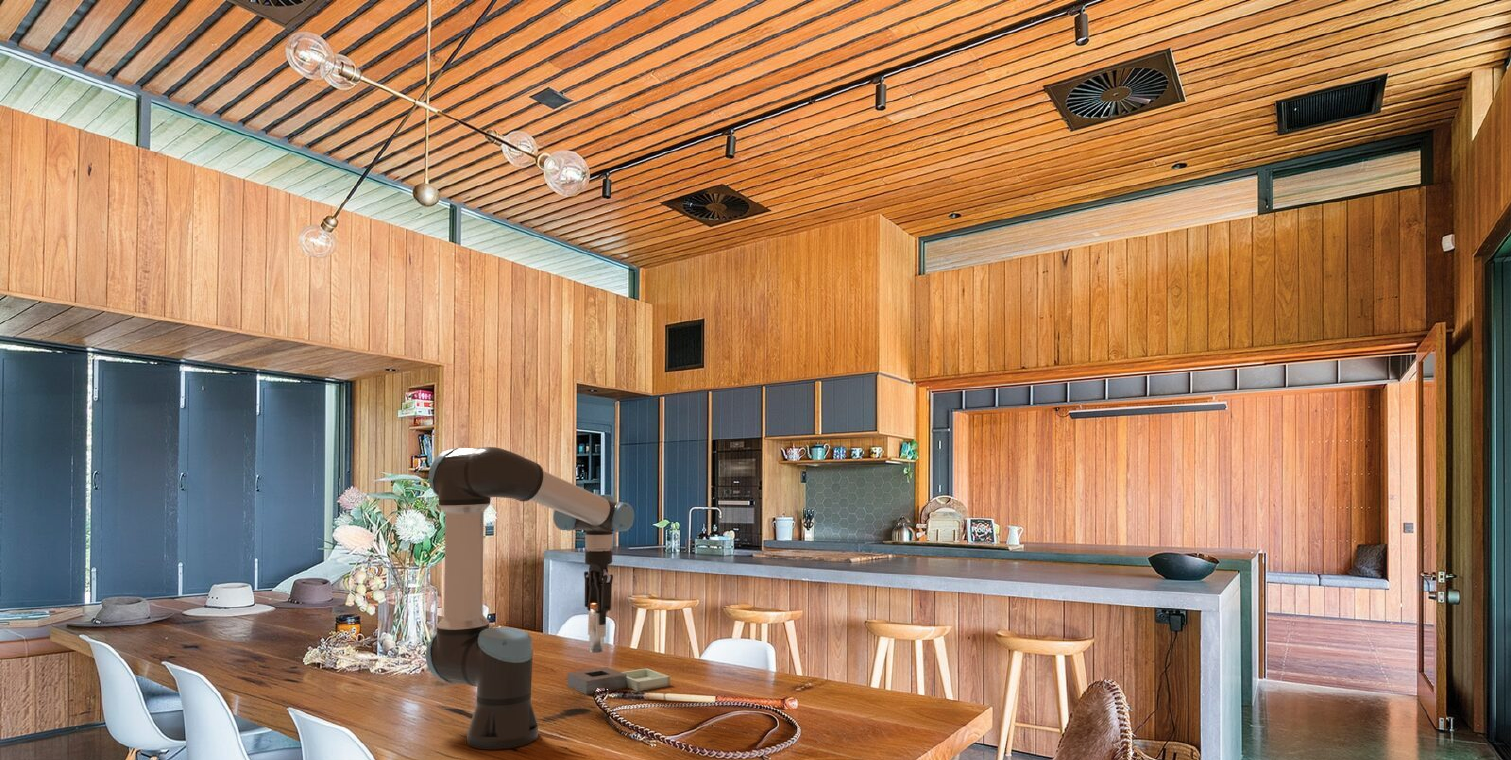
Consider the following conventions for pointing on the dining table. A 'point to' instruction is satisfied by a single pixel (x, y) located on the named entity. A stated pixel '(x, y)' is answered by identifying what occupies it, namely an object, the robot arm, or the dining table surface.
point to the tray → (646, 679)
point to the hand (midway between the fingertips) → (596, 635)
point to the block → (596, 680)
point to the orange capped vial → (594, 632)
